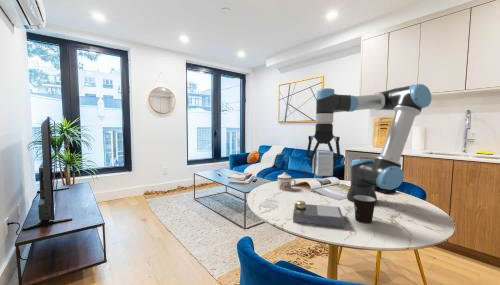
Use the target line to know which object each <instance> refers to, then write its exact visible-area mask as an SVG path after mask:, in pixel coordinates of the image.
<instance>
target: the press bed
mask: <svg viewBox="0 0 500 285" xmlns="http://www.w3.org/2000/svg"><path fill="white" fill-rule="evenodd" d="M292 213H293V215H292V222H293V223H295V224H303V225H312V226H319V227H328V228H338V229H345V228H344V226H345V225H344V224H345V218H344V216H343V213H342V210H341V208H340V207H339V206H333V205H322V204H321V205H320V204H306V203H305V207H304V210H298V204H297V202H296V203H294V208H293V212H292Z"/></svg>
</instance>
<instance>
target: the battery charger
mask: <svg viewBox="0 0 500 285" xmlns="http://www.w3.org/2000/svg"><path fill="white" fill-rule="evenodd" d="M374 190H375V193H376V192H377V193H380V194H384V195H391V194H396V193H397V188H395V189H391V190H388V189H382V188H380V187H377V186H374Z"/></svg>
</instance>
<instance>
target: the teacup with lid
mask: <svg viewBox="0 0 500 285" xmlns="http://www.w3.org/2000/svg"><path fill="white" fill-rule="evenodd" d="M292 181H293V184H292ZM296 183H297V181H296V179H294V178H292V176H291V175H289V174H288V173H287V172H283V173H281V174H278V175H277V189H278V190H279V191H291V190H292V187H295V185H296Z"/></svg>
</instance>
